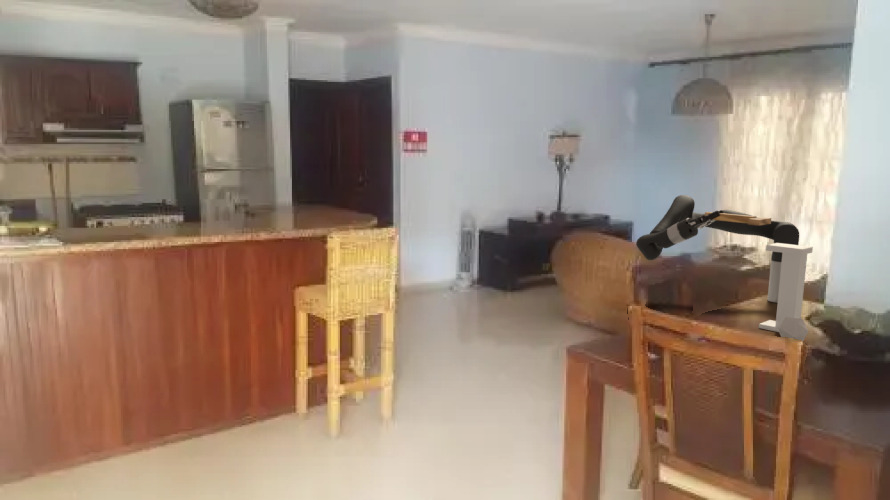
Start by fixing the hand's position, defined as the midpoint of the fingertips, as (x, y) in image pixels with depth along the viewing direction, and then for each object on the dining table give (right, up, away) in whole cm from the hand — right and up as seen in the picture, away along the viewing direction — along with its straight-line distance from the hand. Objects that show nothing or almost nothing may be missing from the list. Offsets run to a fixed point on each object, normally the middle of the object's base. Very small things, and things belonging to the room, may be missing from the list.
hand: (720, 212), depth 254 cm
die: (+12, -45, -28) cm, 54 cm away
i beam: (+16, -42, -12) cm, 47 cm away
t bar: (+4, -4, -4) cm, 7 cm away
